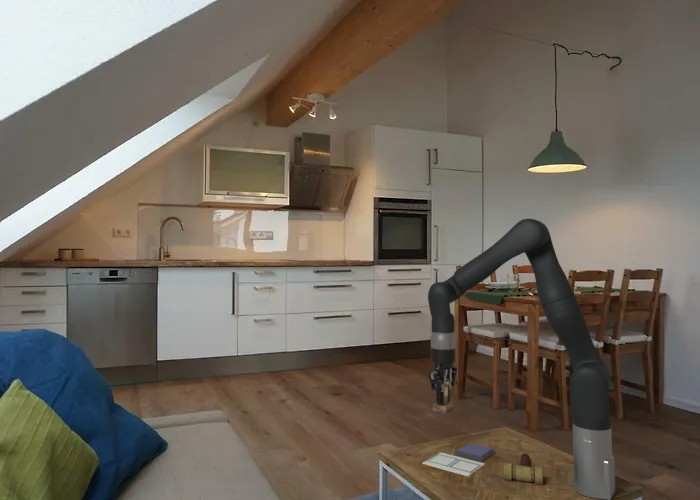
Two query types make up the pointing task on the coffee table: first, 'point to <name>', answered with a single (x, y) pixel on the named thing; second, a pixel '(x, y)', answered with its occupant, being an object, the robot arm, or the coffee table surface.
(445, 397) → the stamp
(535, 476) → the gavel
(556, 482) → the coffee table surface
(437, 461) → the sheet
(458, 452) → the ink pad
